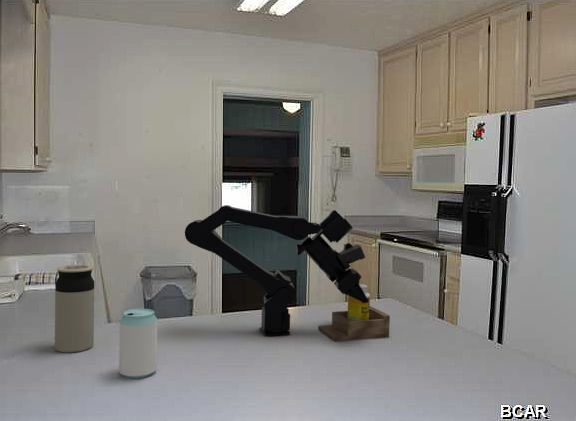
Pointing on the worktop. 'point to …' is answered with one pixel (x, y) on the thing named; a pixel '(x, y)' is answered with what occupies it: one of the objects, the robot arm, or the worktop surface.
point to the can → (138, 343)
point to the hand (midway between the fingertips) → (364, 299)
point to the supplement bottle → (358, 307)
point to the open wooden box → (357, 326)
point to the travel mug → (74, 308)
